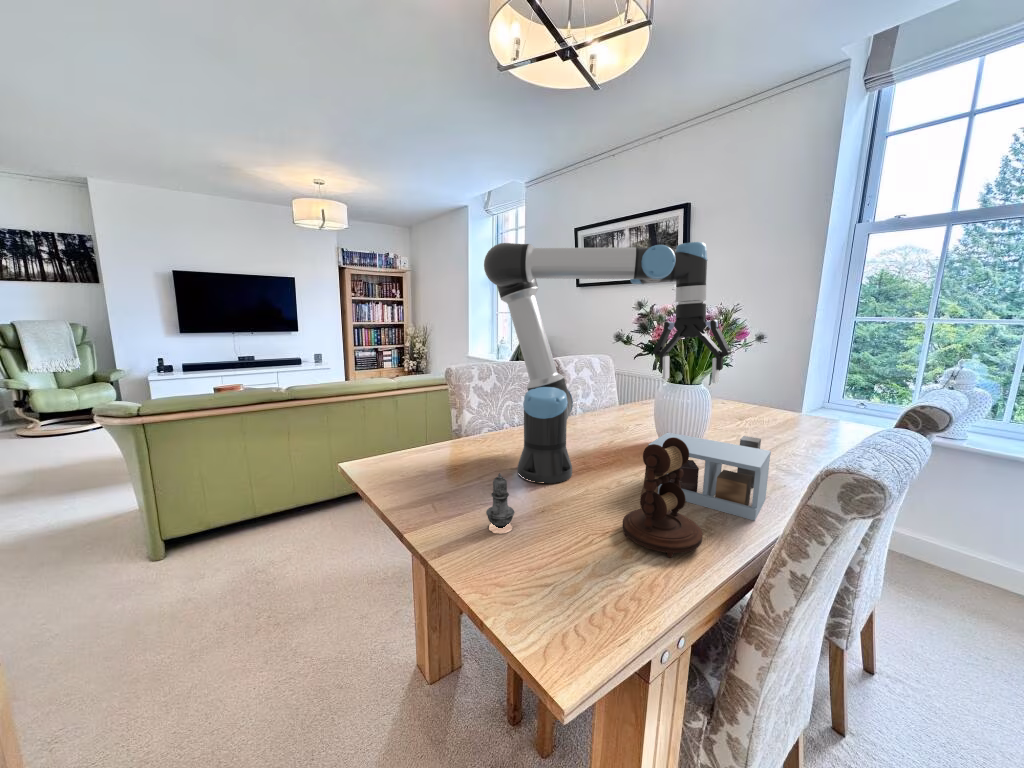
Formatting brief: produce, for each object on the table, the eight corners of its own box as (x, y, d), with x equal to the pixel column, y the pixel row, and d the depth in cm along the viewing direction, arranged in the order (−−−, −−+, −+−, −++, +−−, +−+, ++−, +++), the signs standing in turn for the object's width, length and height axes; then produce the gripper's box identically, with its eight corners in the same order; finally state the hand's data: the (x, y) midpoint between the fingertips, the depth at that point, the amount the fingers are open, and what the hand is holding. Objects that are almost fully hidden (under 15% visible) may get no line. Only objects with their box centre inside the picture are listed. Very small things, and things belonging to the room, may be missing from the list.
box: (697, 497, 98) (699, 468, 97) (670, 495, 99) (672, 466, 98) (691, 486, 104) (693, 459, 103) (666, 485, 105) (668, 458, 104)
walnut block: (714, 505, 94) (718, 456, 92) (735, 477, 110) (739, 435, 107) (743, 513, 90) (748, 462, 88) (760, 483, 106) (765, 439, 104)
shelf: (645, 490, 102) (648, 444, 100) (665, 474, 112) (667, 432, 110) (754, 520, 87) (760, 467, 85) (765, 498, 97) (771, 450, 95)
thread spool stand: (649, 512, 91) (654, 426, 87) (715, 541, 79) (724, 443, 76) (607, 535, 82) (610, 439, 78) (675, 570, 70) (683, 460, 67)
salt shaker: (504, 538, 81) (504, 481, 79) (480, 530, 84) (479, 475, 82) (519, 525, 86) (519, 471, 84) (496, 518, 89) (496, 465, 87)
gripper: (746, 299, 103) (743, 381, 107) (653, 305, 121) (653, 375, 124) (736, 299, 98) (733, 385, 102) (641, 305, 116) (641, 379, 119)
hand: (689, 380), depth 113 cm, fingers open, 13 cm apart
